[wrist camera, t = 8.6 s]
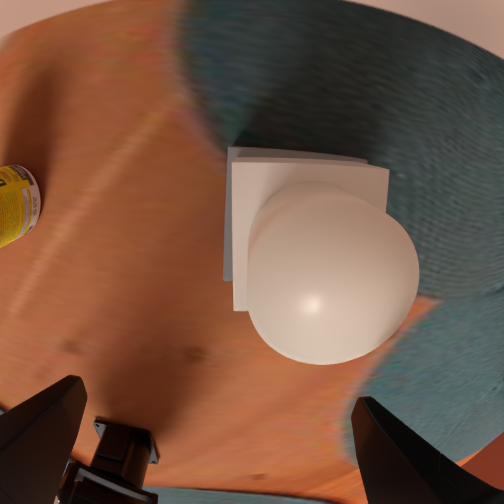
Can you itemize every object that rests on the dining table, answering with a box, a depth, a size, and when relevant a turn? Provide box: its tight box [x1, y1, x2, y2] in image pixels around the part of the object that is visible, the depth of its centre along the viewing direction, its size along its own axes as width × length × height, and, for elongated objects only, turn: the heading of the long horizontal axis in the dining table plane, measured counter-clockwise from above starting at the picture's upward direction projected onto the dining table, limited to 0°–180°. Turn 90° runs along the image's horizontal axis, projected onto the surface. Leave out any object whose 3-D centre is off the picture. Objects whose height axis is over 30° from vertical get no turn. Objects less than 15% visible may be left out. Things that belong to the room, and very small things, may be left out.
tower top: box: [232, 157, 389, 311], centre depth 14 cm, size 6×6×4 cm
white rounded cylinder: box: [247, 181, 419, 365], centre depth 10 cm, size 5×5×4 cm
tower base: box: [223, 146, 367, 281], centre depth 18 cm, size 7×7×4 cm
